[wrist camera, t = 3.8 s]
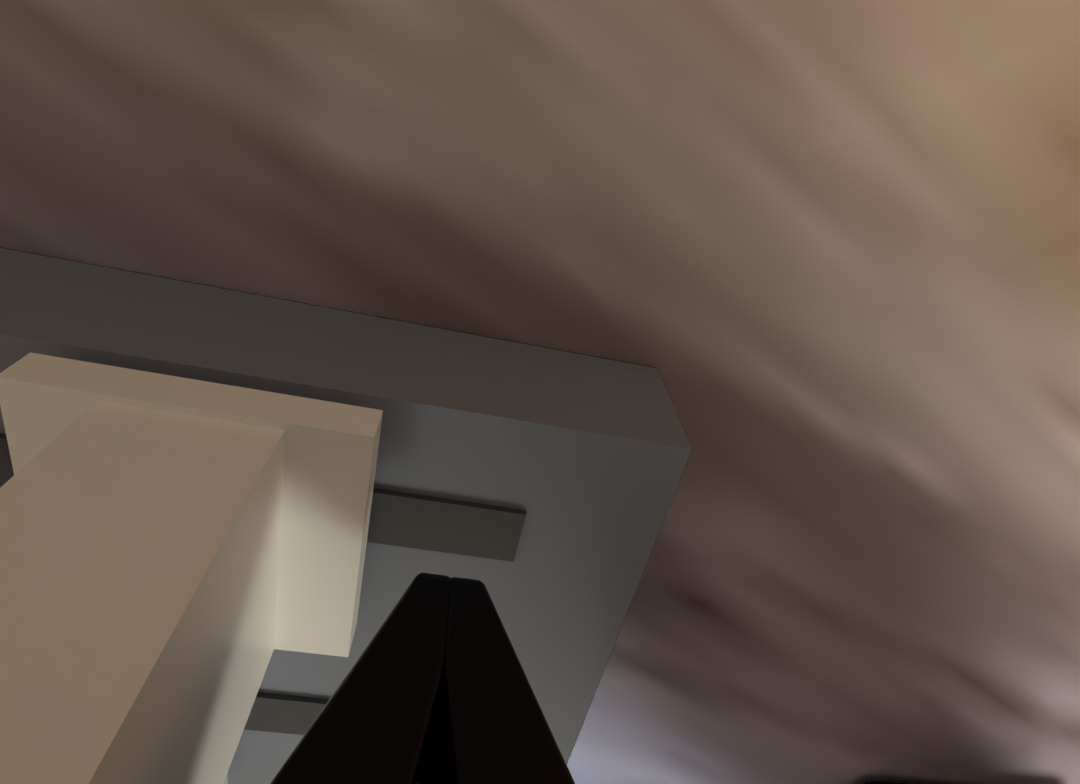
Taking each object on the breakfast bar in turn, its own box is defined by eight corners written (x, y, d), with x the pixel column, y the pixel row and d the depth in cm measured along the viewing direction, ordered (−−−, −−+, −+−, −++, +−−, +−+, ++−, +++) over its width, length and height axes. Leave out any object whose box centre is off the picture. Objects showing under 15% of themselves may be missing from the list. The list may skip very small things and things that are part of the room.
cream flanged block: (382, 410, 8) (246, 825, 4) (356, 623, 10) (243, 1065, 6) (30, 352, 8) (-570, 764, 3) (70, 589, 9) (-292, 1053, 5)
